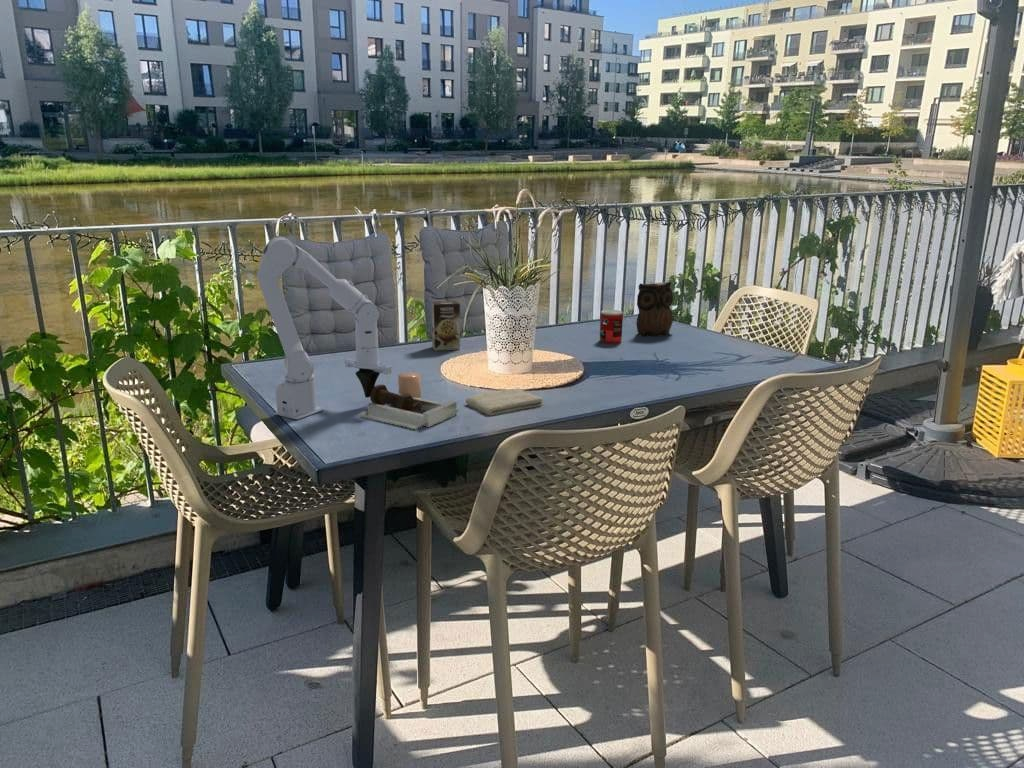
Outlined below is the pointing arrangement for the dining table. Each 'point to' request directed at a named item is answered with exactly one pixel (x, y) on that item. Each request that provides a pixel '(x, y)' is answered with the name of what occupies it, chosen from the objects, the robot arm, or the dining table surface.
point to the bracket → (412, 414)
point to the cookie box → (446, 325)
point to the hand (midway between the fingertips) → (369, 396)
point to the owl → (654, 309)
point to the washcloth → (503, 401)
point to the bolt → (394, 399)
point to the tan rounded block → (409, 384)
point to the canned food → (611, 326)
